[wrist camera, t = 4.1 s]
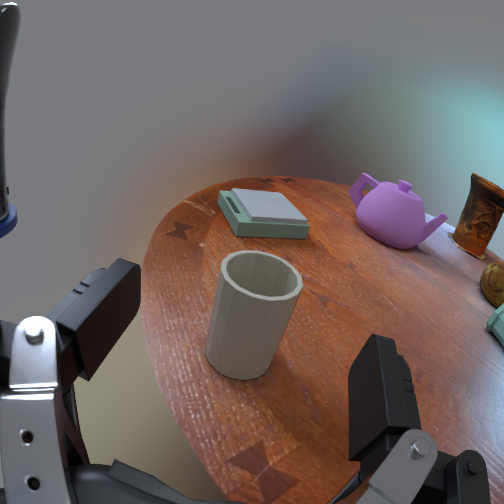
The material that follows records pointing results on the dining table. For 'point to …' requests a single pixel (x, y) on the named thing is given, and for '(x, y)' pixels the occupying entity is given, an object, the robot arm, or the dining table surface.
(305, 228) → the scale
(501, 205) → the vessel
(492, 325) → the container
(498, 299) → the bread roll
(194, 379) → the dining table surface
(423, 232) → the teapot
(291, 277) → the tumbler
